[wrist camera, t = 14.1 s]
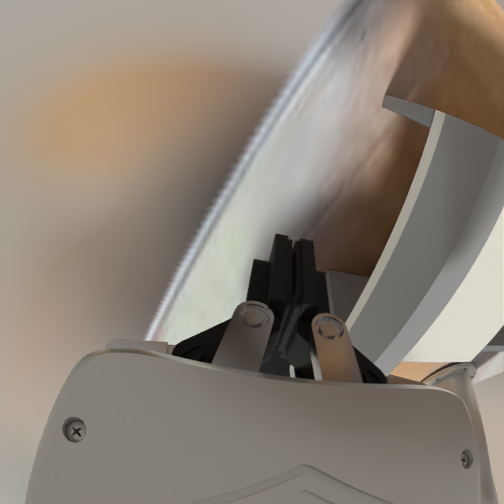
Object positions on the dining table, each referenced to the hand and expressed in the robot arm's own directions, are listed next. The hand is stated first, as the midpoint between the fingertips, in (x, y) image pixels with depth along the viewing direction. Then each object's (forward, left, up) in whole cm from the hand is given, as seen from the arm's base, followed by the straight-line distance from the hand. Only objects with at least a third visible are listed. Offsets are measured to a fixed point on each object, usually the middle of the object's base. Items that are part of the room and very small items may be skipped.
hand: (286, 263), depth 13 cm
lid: (0, -13, -2) cm, 13 cm away
